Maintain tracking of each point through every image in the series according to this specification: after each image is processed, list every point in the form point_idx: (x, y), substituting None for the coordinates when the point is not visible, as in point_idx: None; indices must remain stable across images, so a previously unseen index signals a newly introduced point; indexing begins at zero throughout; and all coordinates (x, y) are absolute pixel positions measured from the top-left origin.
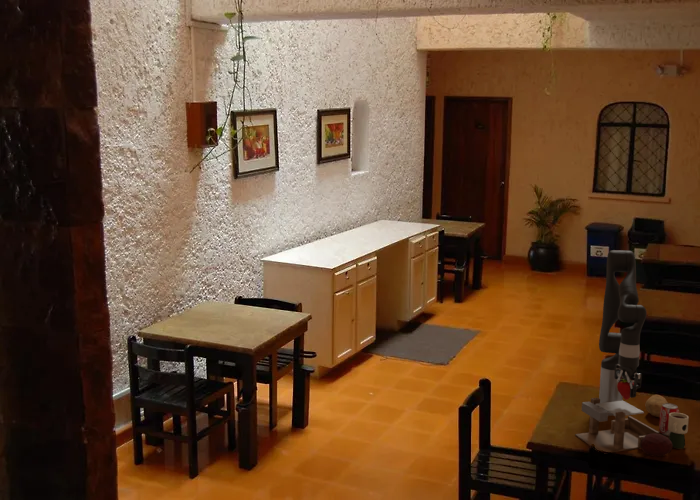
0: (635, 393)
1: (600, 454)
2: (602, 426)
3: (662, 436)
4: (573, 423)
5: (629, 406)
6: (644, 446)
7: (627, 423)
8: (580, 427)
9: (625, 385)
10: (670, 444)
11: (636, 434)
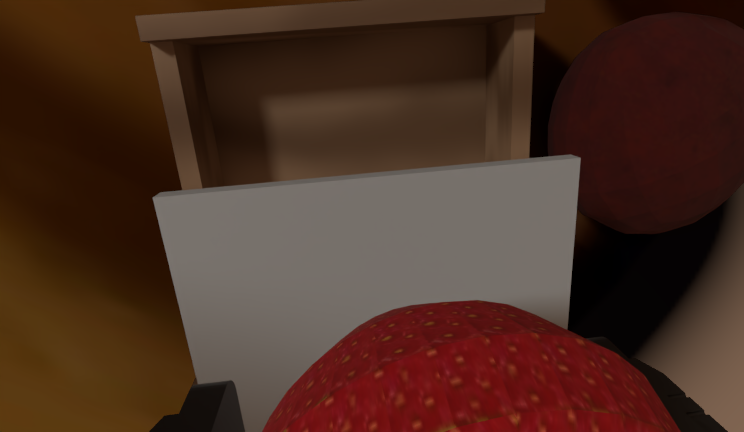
0: (692, 418)
1: None
2: (124, 200)
3: (742, 104)
4: (65, 350)
5: (375, 229)
6: (655, 233)
7: (188, 60)
8: (134, 338)
9: None
10: None
11: (317, 58)
